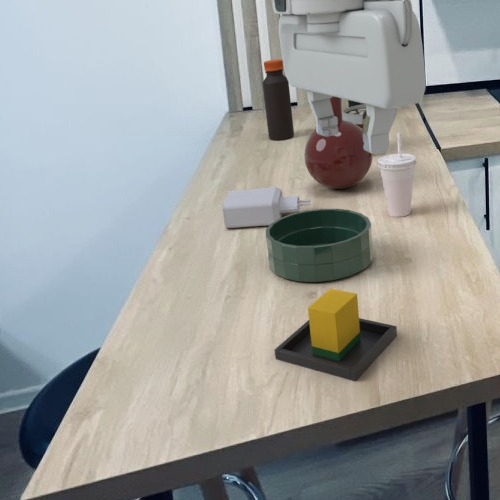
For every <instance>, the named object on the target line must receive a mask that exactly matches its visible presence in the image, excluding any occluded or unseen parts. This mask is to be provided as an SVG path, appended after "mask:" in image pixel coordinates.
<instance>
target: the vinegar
mask: <svg viewBox="0 0 500 500" xmlns="http://www.w3.org/2000/svg"><path fill="white" fill-rule="evenodd" d="M263 69H264V73H265V75H266V76H265V78H264V79H263V81H262V90H263V91H262V92H263V100H264V107H265V115H266V116H265V117H266V124H267V135H268V139H269V140H271V141H284V140H288V139H292V138H294V136H295V132H294V131H295V130H294V121H293V120H294V119H293V111H292V102H291V92H290V84H289V82H288V80H287V77H286V75H285V74H284V66H283V60H282V58H280V59H270V60H266V61H264V62H263Z"/></svg>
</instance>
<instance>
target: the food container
mask: <svg viewBox="0 0 500 500" xmlns="http://www.w3.org/2000/svg"><path fill="white" fill-rule="evenodd" d="M342 119H343V121H348V122H351V123H354V124H356V125H357V126H359V127H360V128H361V129H362V130H363V131H364V132H365V133H367V132H368V127H369V122H370V117H369V116H367V111H366V104H362V105H357V106H352V107H349V106H348V107H347V108H345V109H342Z"/></svg>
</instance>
